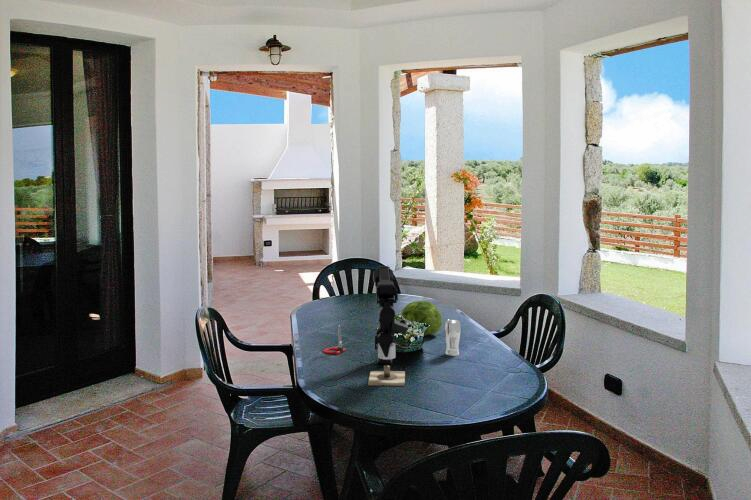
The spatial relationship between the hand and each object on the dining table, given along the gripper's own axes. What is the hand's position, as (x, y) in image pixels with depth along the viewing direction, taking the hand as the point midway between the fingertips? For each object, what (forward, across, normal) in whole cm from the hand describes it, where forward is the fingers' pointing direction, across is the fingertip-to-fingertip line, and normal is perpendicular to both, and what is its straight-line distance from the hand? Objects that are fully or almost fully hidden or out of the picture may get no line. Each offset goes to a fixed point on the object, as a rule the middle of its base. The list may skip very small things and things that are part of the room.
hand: (386, 354), depth 240 cm
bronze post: (+10, 0, 0) cm, 10 cm away
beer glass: (+10, +34, -28) cm, 45 cm away
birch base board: (+10, 0, 0) cm, 10 cm away
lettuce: (+11, +67, -13) cm, 69 cm away
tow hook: (+11, +37, +26) cm, 46 cm away
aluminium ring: (+1, 0, 0) cm, 1 cm away
